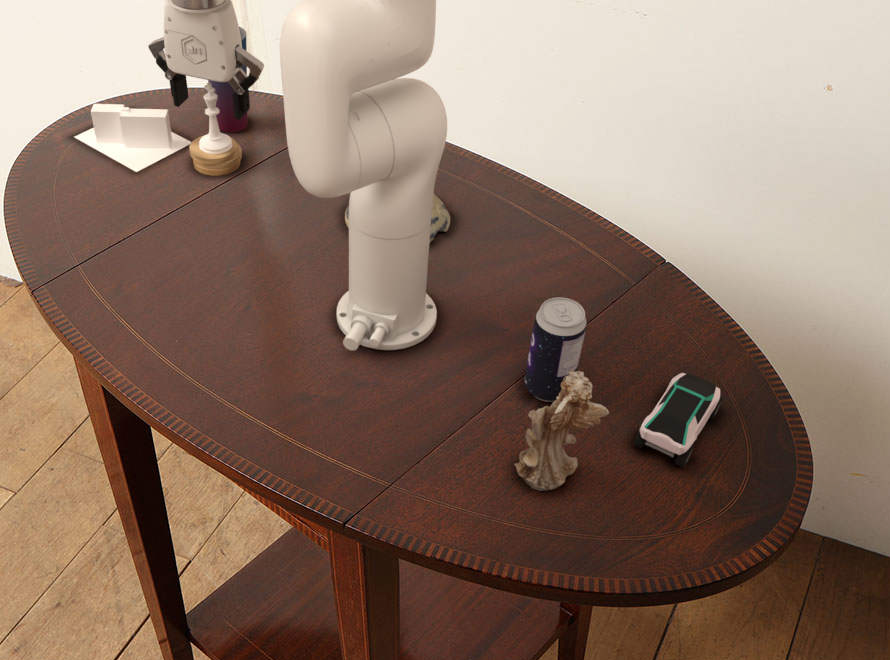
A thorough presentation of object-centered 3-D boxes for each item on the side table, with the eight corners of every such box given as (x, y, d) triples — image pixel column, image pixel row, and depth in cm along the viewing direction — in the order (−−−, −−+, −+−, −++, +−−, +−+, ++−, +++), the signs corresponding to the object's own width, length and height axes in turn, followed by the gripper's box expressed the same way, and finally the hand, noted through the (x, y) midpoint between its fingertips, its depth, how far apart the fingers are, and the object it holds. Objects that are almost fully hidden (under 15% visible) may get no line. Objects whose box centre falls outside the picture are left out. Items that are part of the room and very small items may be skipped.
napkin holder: (193, 142, 153) (189, 108, 149) (137, 172, 146) (131, 138, 142) (129, 109, 159) (123, 76, 155) (72, 137, 153) (65, 104, 149)
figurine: (566, 448, 109) (590, 349, 99) (589, 489, 105) (616, 390, 95) (504, 461, 108) (521, 362, 97) (525, 503, 104) (545, 404, 93)
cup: (234, 140, 154) (226, 48, 143) (201, 127, 156) (190, 36, 146) (262, 121, 158) (255, 31, 147) (228, 109, 160) (220, 19, 150)
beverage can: (563, 370, 118) (579, 292, 110) (577, 403, 114) (596, 325, 106) (517, 375, 118) (530, 297, 109) (530, 408, 114) (545, 331, 105)
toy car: (629, 451, 109) (639, 418, 106) (671, 388, 116) (681, 355, 113) (679, 474, 107) (691, 442, 103) (719, 409, 114) (731, 376, 110)
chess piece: (216, 158, 144) (209, 95, 137) (192, 146, 146) (184, 84, 139) (239, 144, 147) (233, 82, 140) (215, 133, 149) (208, 71, 142)
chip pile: (228, 181, 145) (226, 163, 143) (183, 170, 147) (180, 153, 145) (250, 155, 150) (248, 138, 148) (206, 145, 152) (204, 128, 150)
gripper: (126, -9, 130) (145, 109, 142) (245, 13, 126) (254, 133, 138) (154, -30, 135) (170, 85, 147) (269, -10, 131) (276, 108, 143)
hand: (211, 108), depth 142 cm, fingers open, 9 cm apart
